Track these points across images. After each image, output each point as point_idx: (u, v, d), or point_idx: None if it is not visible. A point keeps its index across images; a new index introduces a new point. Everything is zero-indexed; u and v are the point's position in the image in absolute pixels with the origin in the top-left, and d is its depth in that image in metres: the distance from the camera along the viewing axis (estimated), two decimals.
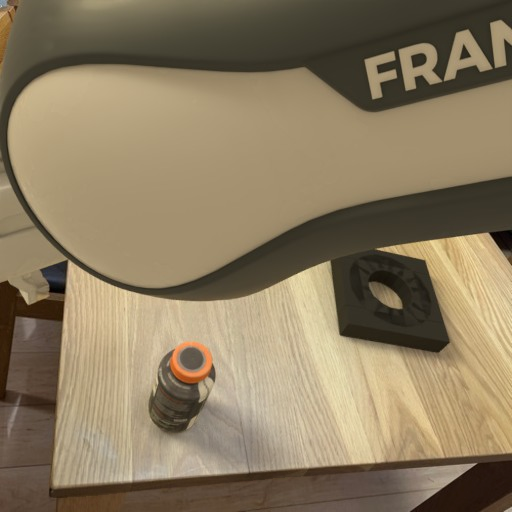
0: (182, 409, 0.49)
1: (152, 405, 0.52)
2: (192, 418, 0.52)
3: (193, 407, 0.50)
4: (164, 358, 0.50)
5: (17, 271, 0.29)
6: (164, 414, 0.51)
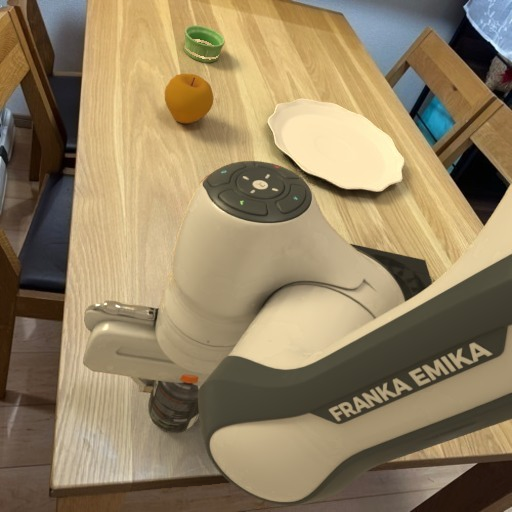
0: (181, 409, 0.49)
1: (152, 405, 0.52)
2: (192, 418, 0.52)
3: (193, 407, 0.50)
4: None
5: (122, 373, 0.46)
6: (164, 414, 0.51)
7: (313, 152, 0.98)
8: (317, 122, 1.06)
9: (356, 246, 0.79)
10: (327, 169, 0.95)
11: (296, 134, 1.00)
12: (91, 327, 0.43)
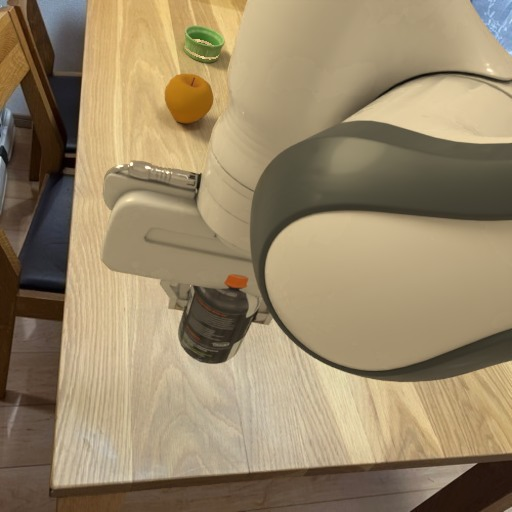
0: (224, 326, 0.39)
1: (185, 327, 0.42)
2: (235, 343, 0.42)
3: (239, 323, 0.39)
4: None
5: (151, 273, 0.36)
6: (201, 336, 0.40)
7: None
8: None
9: None
10: None
11: None
12: (111, 203, 0.33)
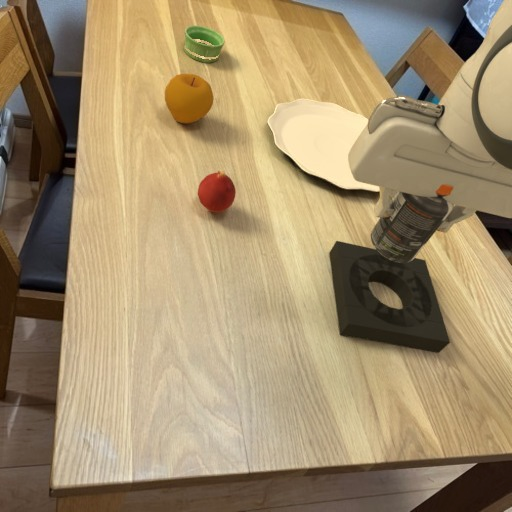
0: (426, 226, 0.52)
1: (385, 232, 0.55)
2: (423, 244, 0.55)
3: (435, 225, 0.53)
4: None
5: (386, 183, 0.49)
6: (403, 237, 0.54)
7: (313, 152, 0.98)
8: (317, 122, 1.06)
9: (356, 246, 0.79)
10: (327, 169, 0.95)
11: (296, 134, 1.00)
12: (374, 127, 0.46)
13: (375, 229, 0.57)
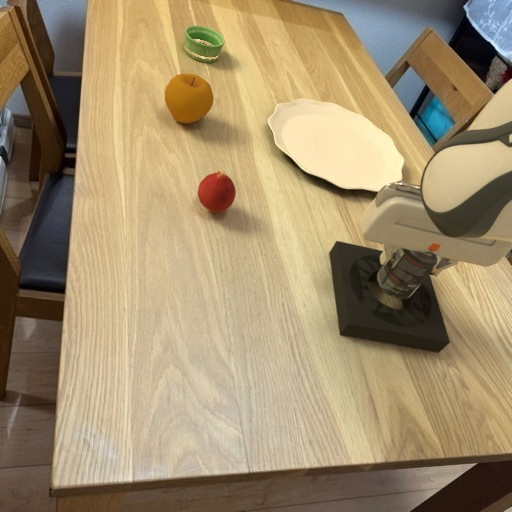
0: (420, 273, 0.67)
1: (388, 276, 0.70)
2: (418, 285, 0.70)
3: (427, 272, 0.68)
4: None
5: (388, 242, 0.64)
6: (402, 280, 0.69)
7: (313, 152, 0.98)
8: (317, 122, 1.06)
9: (356, 246, 0.79)
10: (327, 169, 0.95)
11: (296, 134, 1.00)
12: (380, 203, 0.61)
13: (380, 272, 0.72)
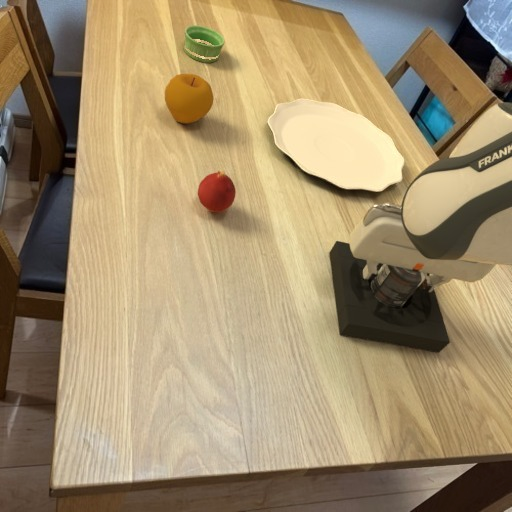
0: (405, 291, 0.70)
1: (375, 293, 0.73)
2: (404, 302, 0.73)
3: (412, 290, 0.71)
4: None
5: (376, 259, 0.67)
6: (388, 297, 0.72)
7: (313, 152, 0.98)
8: (317, 122, 1.06)
9: None
10: (327, 169, 0.95)
11: (296, 134, 1.00)
12: (367, 222, 0.64)
13: None
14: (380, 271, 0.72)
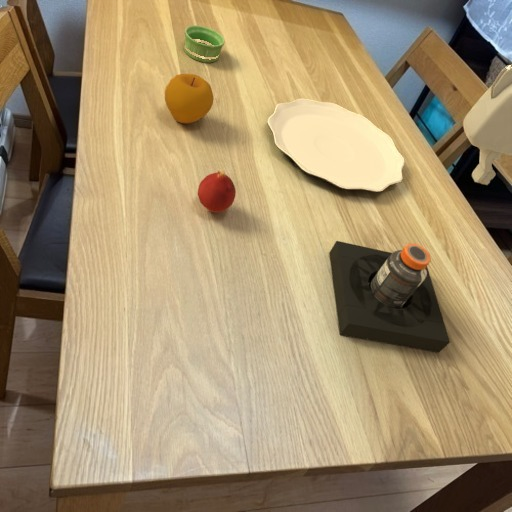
0: (405, 291, 0.70)
1: (375, 293, 0.73)
2: (404, 302, 0.73)
3: (412, 290, 0.71)
4: (392, 256, 0.71)
5: (502, 147, 0.51)
6: (388, 297, 0.72)
7: (313, 152, 0.98)
8: (317, 122, 1.06)
9: (356, 246, 0.79)
10: (327, 169, 0.95)
11: (296, 134, 1.00)
12: (498, 91, 0.48)
13: None
14: (380, 271, 0.72)
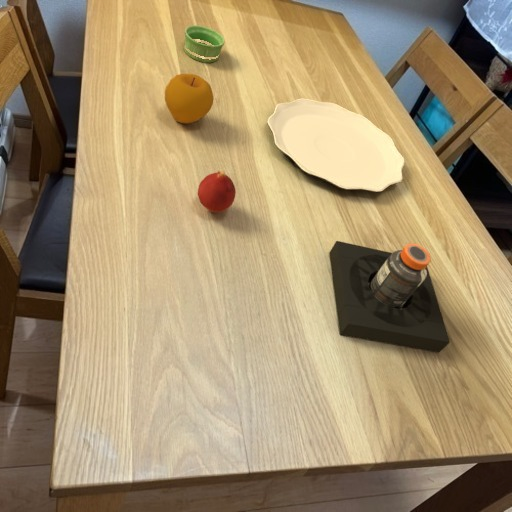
0: (405, 291, 0.70)
1: (375, 293, 0.73)
2: (404, 302, 0.73)
3: (412, 290, 0.71)
4: (392, 256, 0.71)
5: None
6: (388, 297, 0.72)
7: (313, 152, 0.98)
8: (317, 122, 1.06)
9: (356, 246, 0.79)
10: (327, 169, 0.95)
11: (296, 134, 1.00)
12: None
13: None
14: (380, 271, 0.72)
